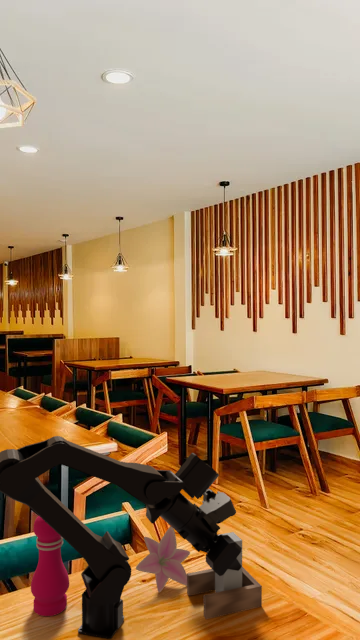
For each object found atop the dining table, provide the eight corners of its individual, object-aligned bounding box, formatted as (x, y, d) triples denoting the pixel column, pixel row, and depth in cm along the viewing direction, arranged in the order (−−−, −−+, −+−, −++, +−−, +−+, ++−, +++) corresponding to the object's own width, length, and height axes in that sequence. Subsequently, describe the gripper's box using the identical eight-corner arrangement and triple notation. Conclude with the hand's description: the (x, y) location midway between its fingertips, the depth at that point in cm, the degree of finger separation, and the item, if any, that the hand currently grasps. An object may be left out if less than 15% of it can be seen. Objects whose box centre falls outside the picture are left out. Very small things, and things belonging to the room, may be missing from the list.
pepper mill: (74, 597, 104) (73, 498, 104) (62, 619, 97) (61, 512, 97) (39, 595, 105) (38, 497, 105) (24, 617, 98) (23, 511, 97)
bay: (205, 619, 97) (205, 598, 97) (187, 593, 106) (187, 573, 106) (261, 606, 101) (261, 586, 101) (239, 582, 110) (239, 563, 110)
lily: (126, 596, 107) (140, 564, 103) (132, 549, 118) (145, 518, 114) (182, 610, 108) (197, 579, 105) (182, 562, 119) (197, 533, 115)
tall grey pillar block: (223, 604, 101) (223, 543, 101) (215, 594, 105) (215, 535, 105) (242, 600, 103) (242, 540, 103) (233, 590, 107) (233, 532, 106)
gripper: (231, 499, 93) (285, 550, 97) (192, 469, 111) (239, 513, 115) (190, 550, 91) (247, 600, 95) (157, 511, 108) (206, 555, 112)
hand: (234, 563), depth 104 cm, fingers closed on tall grey pillar block, 4 cm apart
